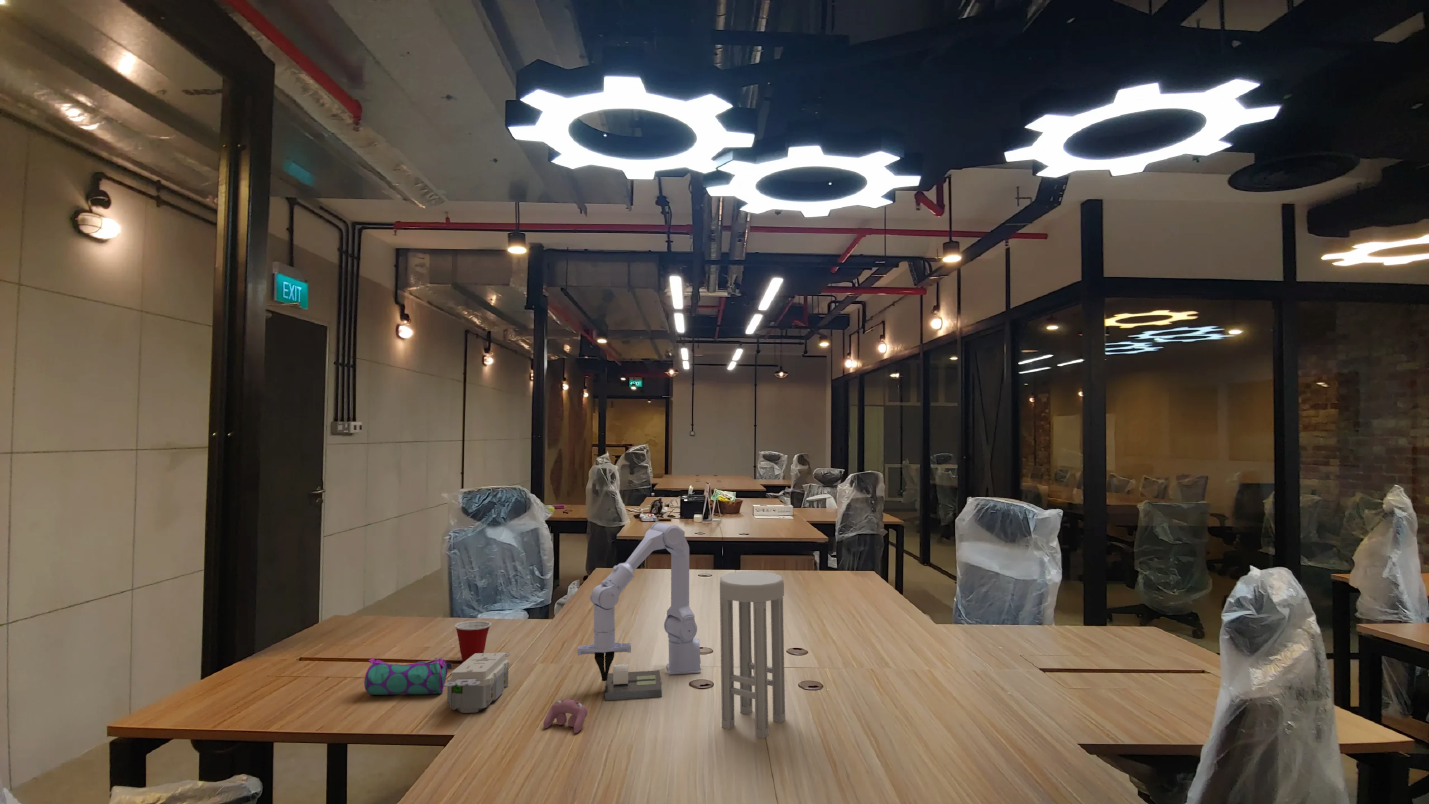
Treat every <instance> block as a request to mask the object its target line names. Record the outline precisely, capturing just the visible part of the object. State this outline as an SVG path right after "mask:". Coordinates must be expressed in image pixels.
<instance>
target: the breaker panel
mask: <svg viewBox="0 0 1429 804" xmlns="http://www.w3.org/2000/svg"><path fill="white" fill-rule="evenodd" d="M662 695H663V688H662V680H661V670H644V671H640V670H639V671H628V684H613V672H608V677H607V681H605V690H604V701H605V700H609V701H621V700H623V699H625V700H636V699H637V700H638V699H651V698H662ZM623 701H624V700H623Z"/></svg>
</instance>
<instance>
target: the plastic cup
mask: <svg viewBox="0 0 1429 804" xmlns="http://www.w3.org/2000/svg"><path fill="white" fill-rule="evenodd" d="M491 626H492V622H489V621H488V620H487V621H486V620H467V621H461V622H457V623H456V624H454V628H455V629H456V634H457V639H458V645H459V653H460V655H461V663H464V662H465V661H466V660H467V659H469V658H470V657H471V656H472V655H474V654H476V653H485V649H486V643H487V638H488V633H489V630H490V627H491Z"/></svg>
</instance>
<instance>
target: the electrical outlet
mask: <svg viewBox="0 0 1429 804" xmlns="http://www.w3.org/2000/svg"><path fill="white" fill-rule="evenodd" d="M510 655H511V653H510V652H509V653H508V652H484V653H476V654H474V655H472V656H471V657H470V658H469V659H467V660H466V661H465V662H464V663H463V662H461V664H460V665H458V666H457V667H456V668H455V669H453V670H452V671H451V674H450V675H451V676H450V677H449V678H446V680H447V682H445V684H444V688H447V693H446V694H447V695H446V696H447V697H446V699H447V700H446V702H447V704H449V709H451V710H452V711H453V710H457V711H458V712H460V713H462V714H471V713H473V714H474V713H478V712H479V711H482V709H485V708H487V707H488V706H490V704H491V703H492V702H493V701H497V699H498V698H499V697H500V696H501V695H502V694H503V693H504V690H505V689H504V688H505V687H509V668H510V661H509V660H508V659H506V658H507V657H509V656H510Z"/></svg>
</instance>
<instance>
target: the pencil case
mask: <svg viewBox="0 0 1429 804" xmlns="http://www.w3.org/2000/svg"><path fill="white" fill-rule="evenodd" d="M367 661H368V663H371V664H370V665H369V667H368V668H367V670H366V673H365V676H364V681H363V684H364V689H365V692H367V694H369V695H371V696H375V695H376V696H380V695H381V696H389V695H390V696H392V695H437V694H438V695H439V694H442V693H444V688H445V686H444V684H446V680H447V676H448V670H449V669H450V670H451V669H453V668H452V663H451V661H450V662H447V661H446V660H445V659H444V658H441V657H440V658H438V657H435V658H434V659H431V660H426V661H424V660H422V661H417V662H413V663H408V664H400V663H396V664H393V663H387V662H385V661H383V660H380V659H376V660H375V658H374V657H372V658H370V659H368V660H367Z"/></svg>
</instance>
